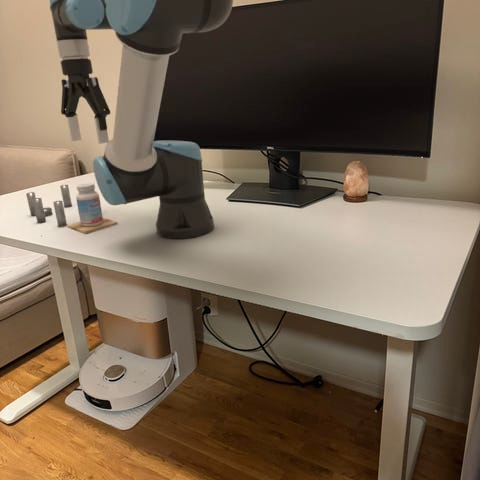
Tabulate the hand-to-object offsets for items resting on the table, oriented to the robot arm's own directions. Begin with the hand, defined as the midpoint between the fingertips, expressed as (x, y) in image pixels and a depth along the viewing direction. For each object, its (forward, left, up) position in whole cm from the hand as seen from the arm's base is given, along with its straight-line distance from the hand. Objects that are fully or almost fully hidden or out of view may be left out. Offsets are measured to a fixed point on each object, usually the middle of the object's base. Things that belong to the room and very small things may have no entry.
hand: (89, 141), depth 127 cm
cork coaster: (-2, +5, -23) cm, 23 cm away
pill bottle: (-2, +5, -22) cm, 23 cm away
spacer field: (+15, +4, -23) cm, 27 cm away
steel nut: (+21, +8, -23) cm, 32 cm away
